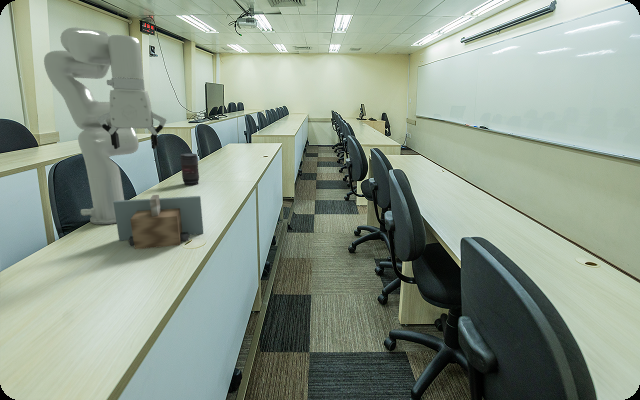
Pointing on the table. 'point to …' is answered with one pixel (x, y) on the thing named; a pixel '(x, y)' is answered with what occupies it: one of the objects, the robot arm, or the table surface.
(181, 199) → the wall board
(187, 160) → the camera lens
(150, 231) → the walnut cabinet
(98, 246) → the table surface
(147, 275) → the table surface
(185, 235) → the rail
